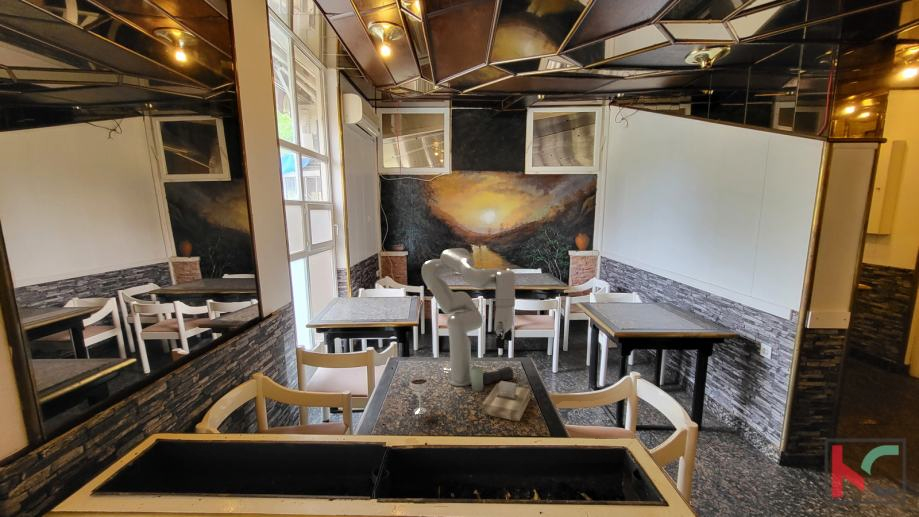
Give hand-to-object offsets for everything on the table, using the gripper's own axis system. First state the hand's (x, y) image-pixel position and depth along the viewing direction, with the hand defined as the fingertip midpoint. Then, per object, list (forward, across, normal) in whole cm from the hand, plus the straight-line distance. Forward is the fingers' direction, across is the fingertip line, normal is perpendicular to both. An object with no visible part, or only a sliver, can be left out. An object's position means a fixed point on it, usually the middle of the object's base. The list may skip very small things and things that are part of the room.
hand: (504, 344), depth 135 cm
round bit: (+24, -4, -13) cm, 28 cm away
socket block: (+23, +4, +3) cm, 24 cm away
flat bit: (+23, +4, +3) cm, 24 cm away
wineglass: (+24, +21, -26) cm, 42 cm away
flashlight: (+24, -16, -8) cm, 30 cm away
